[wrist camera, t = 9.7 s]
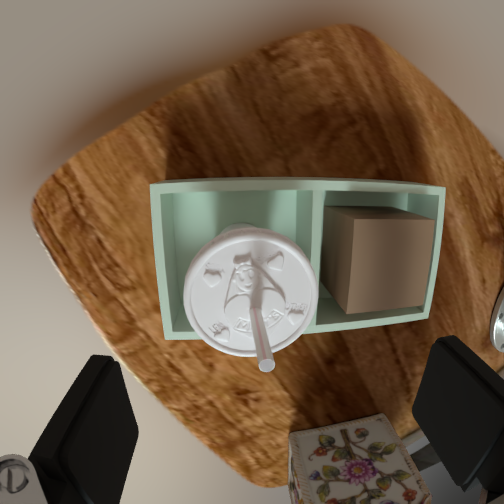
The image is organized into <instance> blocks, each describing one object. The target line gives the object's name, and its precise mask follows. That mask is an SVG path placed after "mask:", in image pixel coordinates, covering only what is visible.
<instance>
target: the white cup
mask: <svg viewBox="0 0 504 504" xmlns="http://www.w3.org/2000/svg"><path fill="white" fill-rule="evenodd" d="M183 300H184V308H185V312H186V315H187V318H188V320H189V322H190V324H191V326H192V328H193V329H194V330H195V332H196V333H197V334H198V335H199V336H200V337H201V338H202V339H203V340H204V341H205V342H206V343H208V344H209V345H210V346H212V347H214V348H215V349H217V350H219V351H222V352H224V353H227V354H231V355H235V356H243V357H254V356H257V359H258V364H259V369H260V370H261V371H263V372H269V371H271V370H273V369H274V367H275V363H274V359H273V355H272V353H273V352H276V351H278V350H280V349H282V348H284V347H286V346H288V345H289V344H291V343H292V342H293V341H295V340H296V339H297V338H298V337H299V336H300V335H301V334H302V333H303V332H304V331H305V329H306V328H307V327H308V325H309V324H310V322H311V320H312V318H313V316H314V313H315V311H316V307H317V303H318V282H317V278H316V274H315V271H314V269H313V267H312V265H311V263H310V261H309V260H308V258H307V257H306V255H305V254H304V252H303V251H302V249H301V248H300V247H299V246H298V245H296V244H295V243H294V242H293V241H292V240H290V239H289V238H288V237H286V236H284V235H282V234H280V233H277V232H275V231H273V230H270V229H263V228H256V227H255V226H253V225H250V224H247V223H235V224H232V225H230V226H228V227H226V228H225V229H224V230H223V231H222V232H221V233H220V234H219V235H218V236H216V237H215V238H214V239H212V240H211V241H210V242H208V243H207V244H206V245H204V246H203V247H202V248H201V249H200V251H199V252H198V253H197V254H196V256H195V257H194V258H193V260H192V261H191V263H190V266H189V268H188V271H187V273H186V276H185V285H184V294H183Z"/></svg>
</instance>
